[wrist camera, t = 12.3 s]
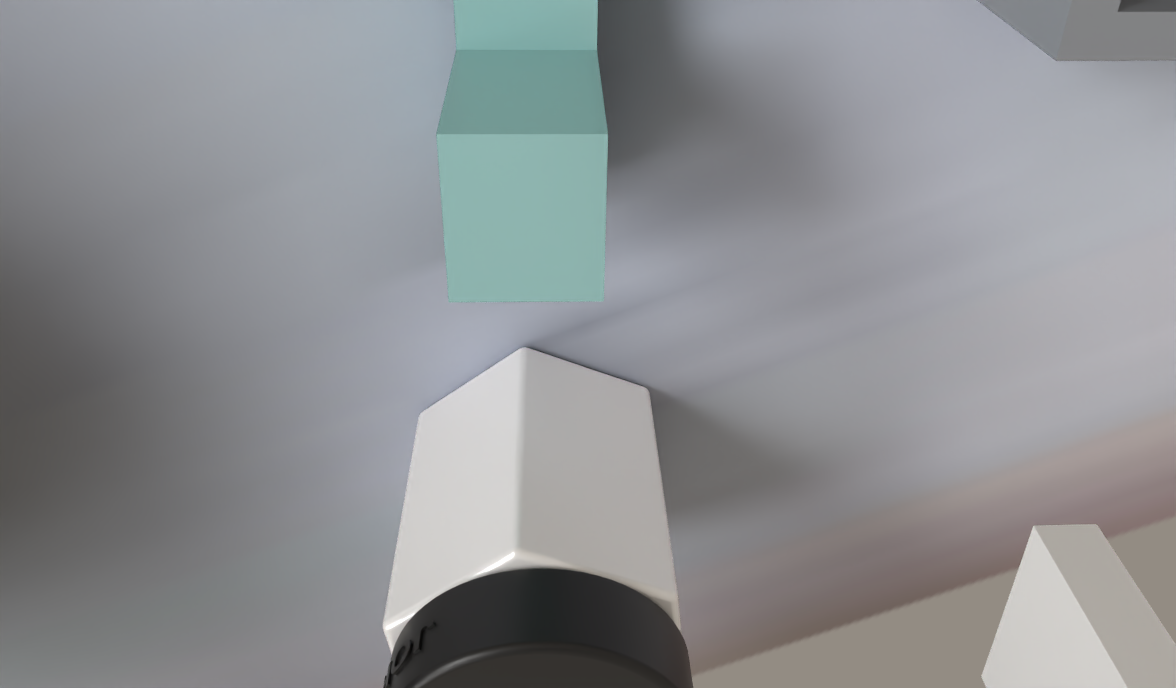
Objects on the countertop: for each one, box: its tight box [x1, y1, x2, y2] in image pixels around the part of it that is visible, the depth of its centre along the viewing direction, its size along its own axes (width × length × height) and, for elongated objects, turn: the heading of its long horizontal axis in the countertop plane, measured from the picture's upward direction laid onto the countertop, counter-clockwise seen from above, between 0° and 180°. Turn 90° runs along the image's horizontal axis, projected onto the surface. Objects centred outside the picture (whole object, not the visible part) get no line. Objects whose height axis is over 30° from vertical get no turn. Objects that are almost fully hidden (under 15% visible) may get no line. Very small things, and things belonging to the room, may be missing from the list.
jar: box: [383, 347, 693, 688], centre depth 30 cm, size 9×8×12 cm
